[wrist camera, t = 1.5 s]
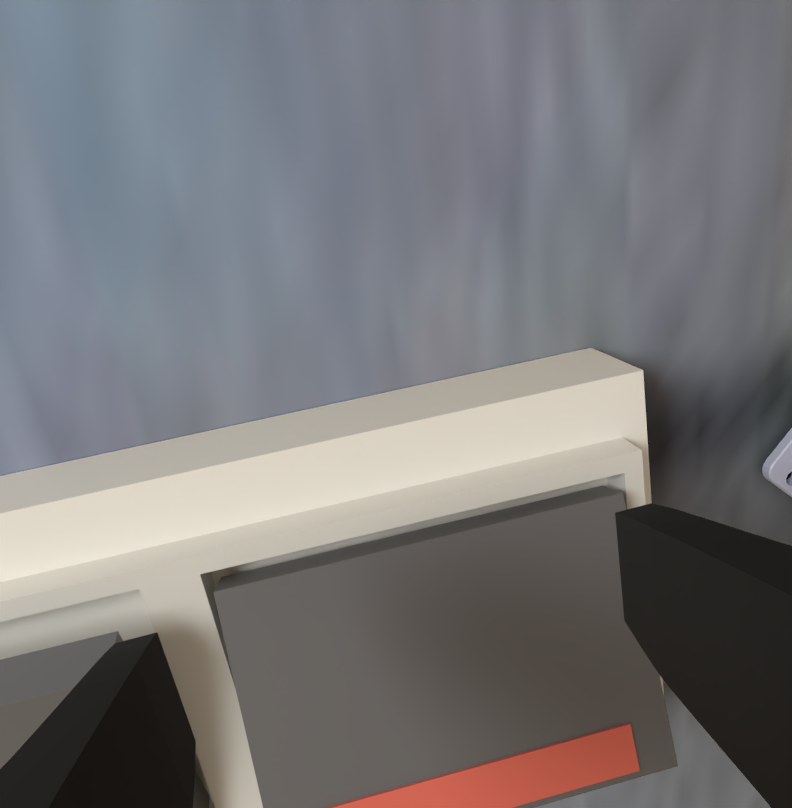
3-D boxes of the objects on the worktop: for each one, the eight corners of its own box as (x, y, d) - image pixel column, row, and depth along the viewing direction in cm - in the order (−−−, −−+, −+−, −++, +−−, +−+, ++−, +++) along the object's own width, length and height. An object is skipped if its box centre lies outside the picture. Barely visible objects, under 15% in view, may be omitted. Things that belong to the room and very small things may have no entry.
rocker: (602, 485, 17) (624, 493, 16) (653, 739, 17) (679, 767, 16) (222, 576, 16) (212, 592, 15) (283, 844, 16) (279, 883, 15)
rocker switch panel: (591, 347, 19) (664, 379, 16) (619, 671, 23) (685, 762, 19) (-307, 543, 17) (-479, 637, 13) (-117, 871, 21) (-209, 1020, 17)
